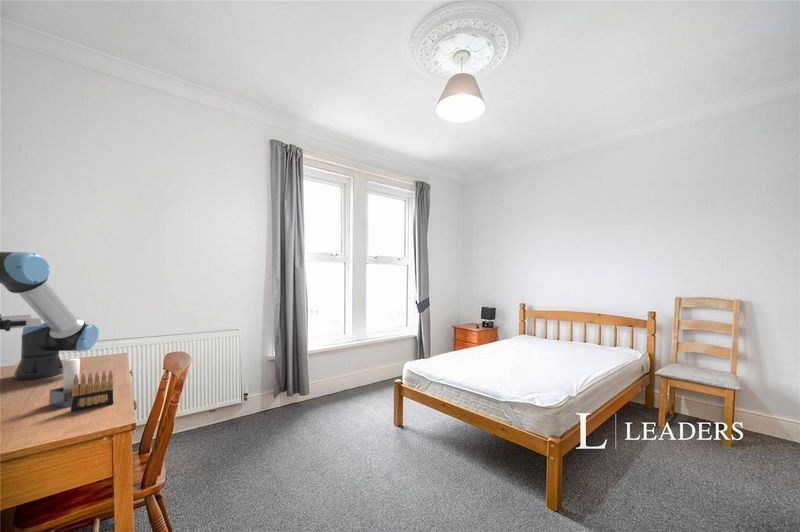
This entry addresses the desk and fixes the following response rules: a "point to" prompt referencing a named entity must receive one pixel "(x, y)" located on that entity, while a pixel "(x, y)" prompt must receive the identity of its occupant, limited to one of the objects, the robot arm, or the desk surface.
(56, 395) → the square open box
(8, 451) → the desk surface
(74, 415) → the desk surface
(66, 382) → the cylinder
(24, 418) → the desk surface
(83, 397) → the ammunition clip
